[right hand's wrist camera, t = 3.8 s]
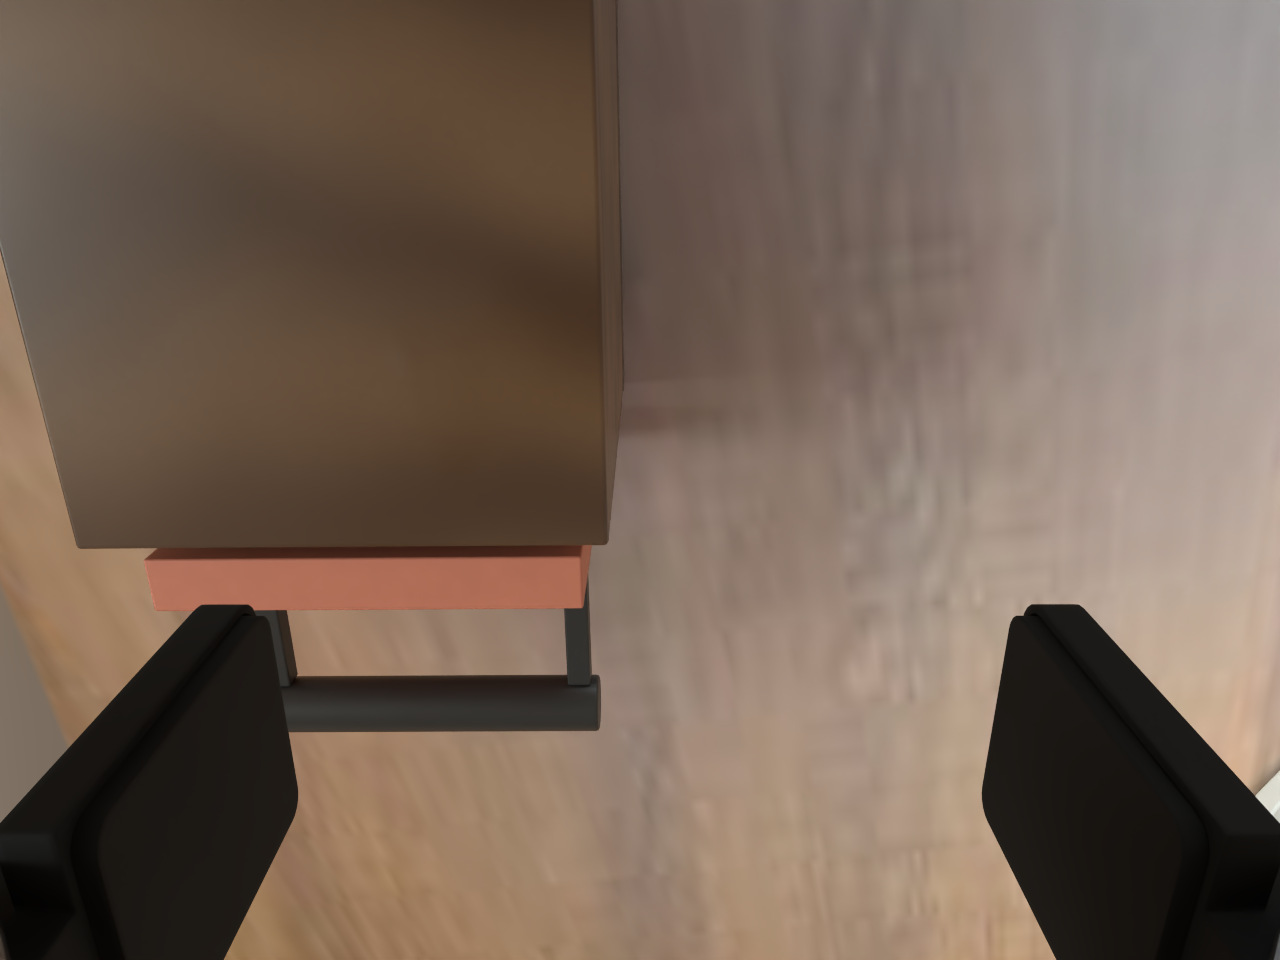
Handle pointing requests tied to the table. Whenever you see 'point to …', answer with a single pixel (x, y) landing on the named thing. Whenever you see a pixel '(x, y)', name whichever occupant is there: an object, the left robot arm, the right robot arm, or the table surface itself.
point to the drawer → (402, 583)
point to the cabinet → (319, 266)
